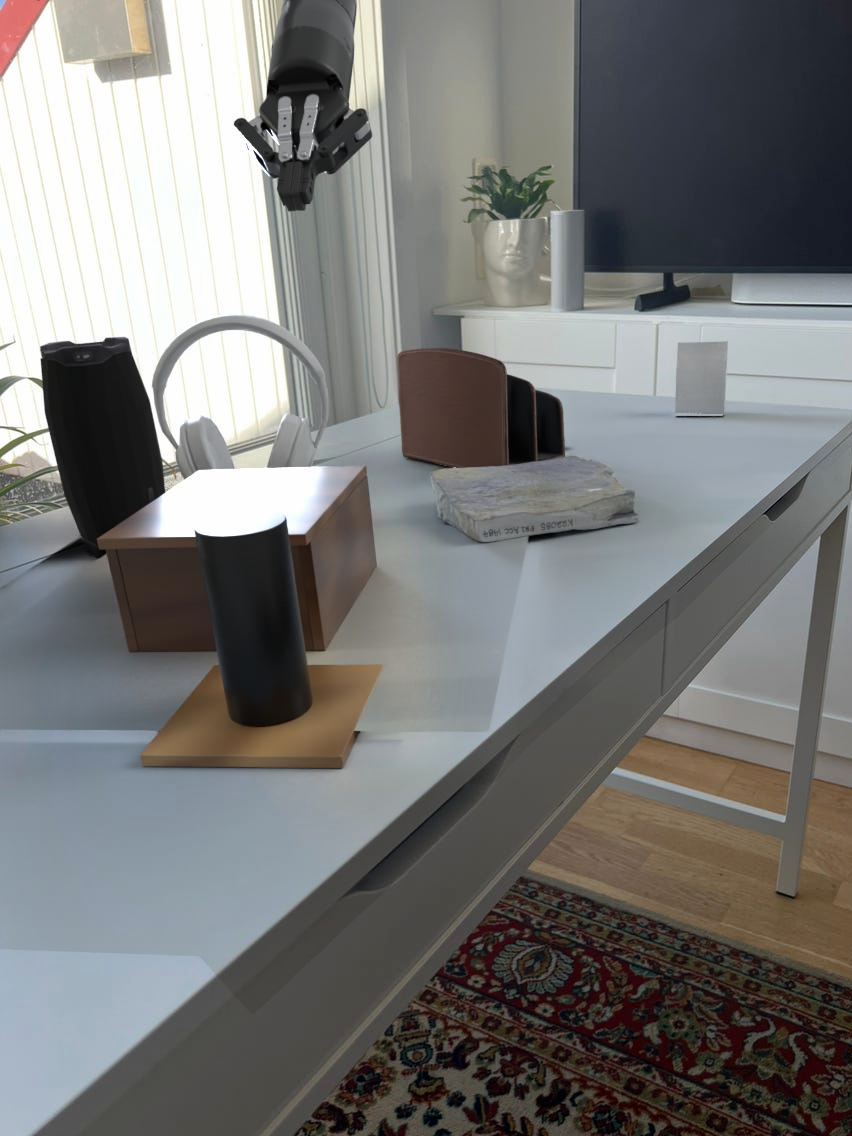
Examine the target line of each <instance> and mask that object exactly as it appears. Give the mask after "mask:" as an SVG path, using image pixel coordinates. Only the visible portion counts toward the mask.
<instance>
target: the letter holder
mask: <svg viewBox="0 0 852 1136" xmlns="http://www.w3.org/2000/svg"><path fill="white" fill-rule="evenodd" d="M396 366H397V367H396V368H397V382H398V383H397V384H398V387H397V388H398V407H399V420H400V421H399V423H400V441H401V454H402V456H403V458H406V457H408V459H411V458H413V459H412V460H416V459H417V460H416V461H421V460H423V461H422V462H425V461H427V462H426V463H430V462H432V463H431V464H434V463H437V464H436V465H438V464H441V465H440V466H443V465H446V466H445V467H447V466H450V467H449V468H451V467H456V468H467V467H486V466H506V465H514V464H522V463H528V462H538V461H544V460H551V459H557V458H561V457H566V446H565V445H566V444H565V443H566V441H565V440H566V439H565V422H564V406H563V403H562V401H561V400H560V398H558V397H557V396H554V395H553V394H551V393H549V392H546V391H542V390H538V389H535V386H534V385H533V383H531V382H530V381H529V380H527V379H524V378H521V377H518V376H515V375H512V374H508V371H507V367H506V365H505V363H503V361H502V360H500V359H497V358H495V357H491V356H488V355H486V354H481V353H478V352H474V351H468V350H463V349H457V348H451V347H421V348H411V349H405V350H402V351H399V353H398V354H397V357H396Z"/></svg>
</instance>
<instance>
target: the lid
mask: <svg viewBox="0 0 852 1136" xmlns="http://www.w3.org/2000/svg"><path fill="white" fill-rule="evenodd" d="M366 475H367V476H368V469H367V465H366V464H361V465H360V464H359V465H358V464H357V465H329V466H312V467H292V468H267V467H264V468H261V467H260V468H235V469H226V470H199V471H197V472H196V473H194V474H193V475H191V476H190V477H188V478H187V479H183V480H182V481H181V482H179V483H178V484H176V485H175V486H172V488H170V489H169V490H168V491H165V493H164V494H163V495H161V496H160V497H159V498H157V499H156V500H154V501H153V502H151V503H150V504H148V505H147V506H145V507H144V508H142V509H141V510H139V511H138V512H136V513H135V514H133V515H132V516H130V517H129V518H127V519H126V520H124V521H123V522H121V523H120V524H118V525H117V526H115V527H114V528H112V529H111V530H109V531H108V532H106V533H105V534H103V535H102V536H100V537H99V538H98V539H97V542H98V546H99V549H100V550H104V549H153V548H197V543H196V537H195V532H194V528H195V526H196V525H197V524H198V523H199V522H201V521H203V520H205V519H207V518H210V517H213V516H216V515H220V514H224V513H229V512H235V511H243V510H271V511H276V512H280V513H282V514H284V515H285V517H286V520H287V527H288V534H289V541H290V546H302V545H307V544H308V543H309V542H310V541H311V540H312V539H313V537H314V536H315V535H316V534H317V533H318V531H319V530H320V529H321V528H322V527H323V526H324V524H325V523H326V522H327V521H328V520H329V518H330V517H331V516H332V515H333V514H334V513H335V511H336V510H337V509H338V508H339V507H340V505H341V504H342V503H343V502H344V501H345V500H346V498H347V497H348V496H349V495H350V494H351V492H352V491H353V490H354V489H355V488H356V487H357V485H358V484H359V483H360V482H361V481H362V479H363V478H364V477H365V476H366Z"/></svg>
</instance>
